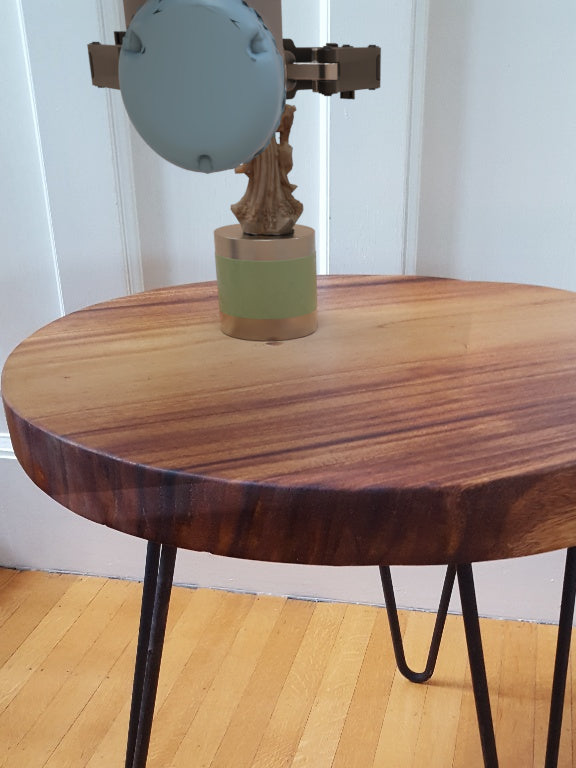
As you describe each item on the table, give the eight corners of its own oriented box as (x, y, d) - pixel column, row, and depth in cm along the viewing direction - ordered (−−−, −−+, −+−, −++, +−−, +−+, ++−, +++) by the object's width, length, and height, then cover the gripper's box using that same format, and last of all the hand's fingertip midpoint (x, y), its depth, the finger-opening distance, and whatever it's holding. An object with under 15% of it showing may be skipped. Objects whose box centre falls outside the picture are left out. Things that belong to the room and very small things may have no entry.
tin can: (209, 338, 92) (201, 238, 87) (233, 314, 100) (227, 220, 95) (308, 343, 91) (305, 241, 86) (324, 317, 99) (323, 223, 94)
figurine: (229, 237, 88) (215, 41, 79) (222, 226, 92) (209, 41, 84) (308, 234, 89) (303, 42, 81) (298, 224, 94) (292, 41, 86)
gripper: (17, 145, 57) (85, 117, 75) (432, 148, 58) (402, 120, 76) (-9, -9, 53) (69, 0, 71) (438, -1, 54) (405, 6, 72)
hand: (242, 62), depth 73 cm, fingers open, 13 cm apart
